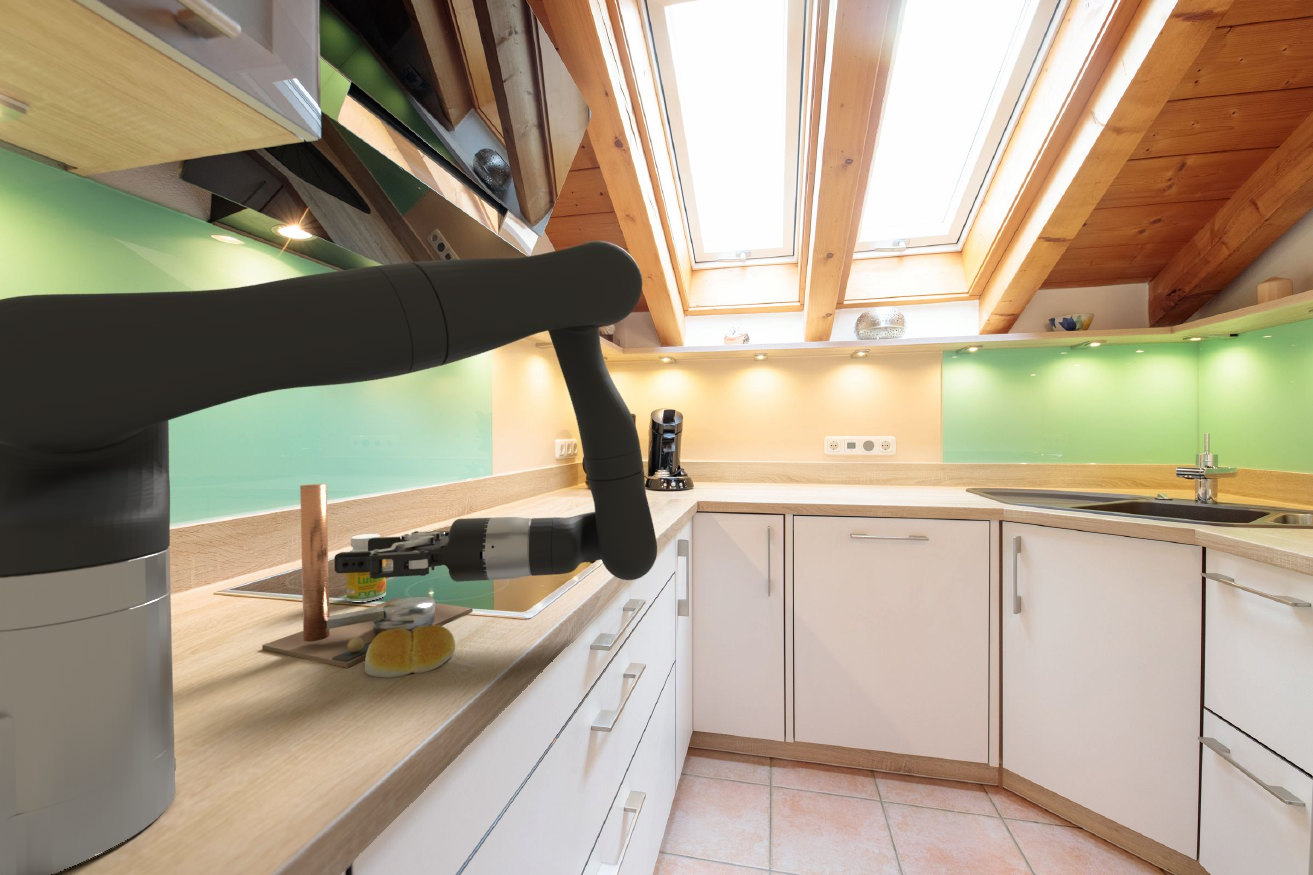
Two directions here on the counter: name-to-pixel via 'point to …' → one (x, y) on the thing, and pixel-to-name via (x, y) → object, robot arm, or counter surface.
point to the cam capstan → (317, 581)
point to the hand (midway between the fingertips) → (353, 554)
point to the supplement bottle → (364, 575)
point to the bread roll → (409, 651)
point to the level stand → (349, 639)
